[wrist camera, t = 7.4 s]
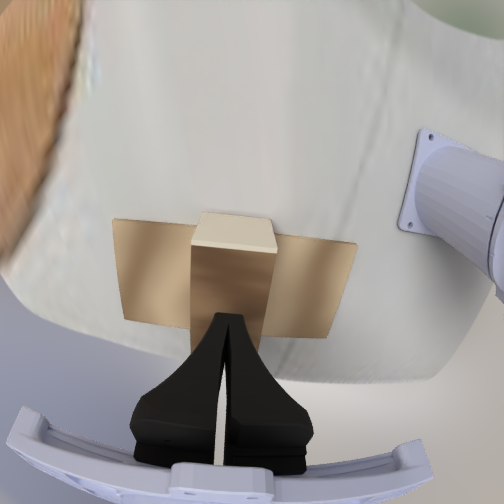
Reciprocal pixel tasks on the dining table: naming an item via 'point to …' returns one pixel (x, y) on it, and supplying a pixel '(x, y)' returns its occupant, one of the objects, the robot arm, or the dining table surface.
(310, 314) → the light wood flat board
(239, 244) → the walnut block
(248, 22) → the dining table surface
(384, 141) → the dining table surface
